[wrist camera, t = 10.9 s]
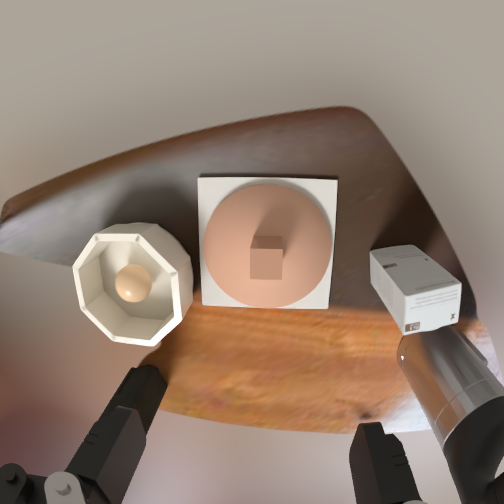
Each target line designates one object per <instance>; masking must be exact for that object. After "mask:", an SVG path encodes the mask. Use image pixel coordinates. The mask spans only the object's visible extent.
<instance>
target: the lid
mask: <svg viewBox="0 0 504 504" xmlns="http://www.w3.org/2000/svg"><path fill="white" fill-rule="evenodd" d="M203 251H204V258H205V262H206V265H207V268H208V271H209V273H210V275H211V276H212V278H213V280H214V281H215V282H216V284H217V285H218V286H219V287H220V288H221V289H222V290H223V291H224V292H225V293H226V294H227V295H229V296H230V297H232V298H233V299H235V300H236V301H239V302H241V303H243V304H246V305H249V306H252V307H257V308H278V307H283V306H287V305H290V304H292V303H295V302H297V301H299V300H300V299H302V298H304V297H305V296H307V295H308V294H309V293H310V292H311V291H312V290H314V289H315V288H316V286H317V285H318V284H319V283H320V281H321V280H322V278H323V276H324V275H325V273H326V270H327V268H328V265H329V262H330V257H331V236H330V232H329V228H328V225H327V223H326V221H325V219H324V217H323V215H322V214H321V212H320V211H319V209H318V208H317V207H316V206H315V205H314V204H313V203H312V202H311V201H310V200H309V199H308V198H307V197H305V196H304V195H302V194H301V193H299V192H297V191H295V190H293V189H291V188H288V187H285V186H280V185H275V184H259V185H254V186H250V187H246V188H243V189H241V190H239V191H237V192H235V193H234V194H232V195H231V196H229V197H228V198H226V199H225V200H224V201H223V202H222V203H221V204H220V205H219V206H218V207H217V209H216V210H215V211H214V213H213V214H212V216H211V217H210V220H209V222H208V224H207V227H206V230H205V234H204V240H203Z"/></svg>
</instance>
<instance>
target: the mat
mask: <svg viewBox="0 0 504 504" xmlns="http://www.w3.org/2000/svg"><path fill="white" fill-rule="evenodd" d="M259 184H275V185H280V186H285V187H288V188H291V189H293V190H295V191H297V192H299V193H301V194H302V195H304V196H305V197H307V198H308V199H309V200H310V201H311V202H312V203H313V204H314V205H315V206H316V207H317V208H318V209H319V211H320V212H321V214H322V215H323V217H324V219H325V221H326V223H327V225H328V228H329V232H330V236H331V257H330V262H329V265H328V268H327V270H326V273H325V275H324V276H323V278H322V280H321V281H320V283H319V284H318V285H317V286H316V288H315V289H314V290H312V291H311V292H310V293H309V294H308V295H307V296H305V297H304V298H302V299H300V300H299V301H297V302H295V303H292V304H290V305H287V306H283V307H278V308H299V309H328V302H329V293H330V283H331V273H332V262H333V250H334V236H335V221H336V203H337V180H326V179H304V178H269V177H203V178H198V216H199V246H200V268H201V287H202V304H203V305H210V306H231V307H252V306H249V305H246V304H243V303H241V302H239V301H236V300H235V299H233V298H232V297H230V296H229V295H227V294H226V293H225V292H224V291H223V290H222V289H221V288H220V287H219V286H218V285H217V284H216V282H215V281H214V280H213V278H212V276H211V275H210V273H209V271H208V268H207V265H206V262H205V258H204V251H203V240H204V234H205V230H206V227H207V224H208V222H209V220H210V217H211V216H212V214H213V213H214V211H215V210H216V209H217V207H218V206H219V205H220V204H221V203H222V202H223V201H224V200H225V199H226V198H228V197H229V196H231V195H232V194H234V193H235V192H237V191H239V190H241V189H243V188H246V187H250V186H254V185H259Z"/></svg>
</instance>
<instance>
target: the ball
mask: <svg viewBox="0 0 504 504" xmlns="http://www.w3.org/2000/svg"><path fill="white" fill-rule="evenodd" d="M115 287H116V291H117V293H118V294H119V296H120V297H121V298H122V299H124V300H126V301H128V302H134V303H135V302H140V301H142V300H144V299H145V298H146V297H147V296H148V295H149V293H150V291H151V288H152V279H151V276H150V274H149V272H148V271H147V270H146V269H145V268H143V267H142V266H140V265H136V264H131V265H127V266H125V267H123V268H122V269H121V270H120V271H119V272H118V274H117V276H116V279H115Z"/></svg>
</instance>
